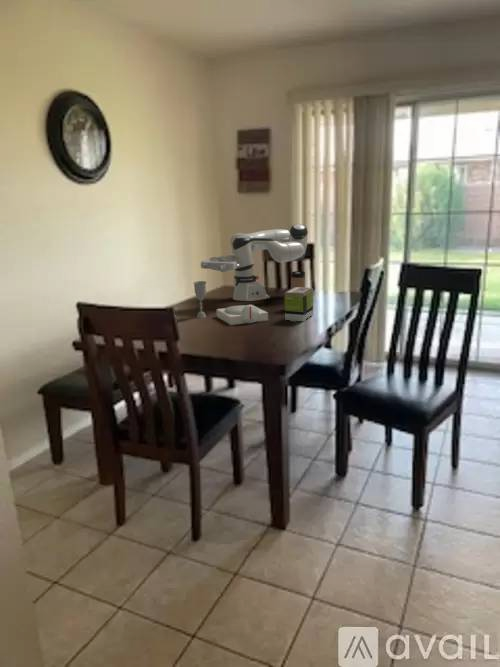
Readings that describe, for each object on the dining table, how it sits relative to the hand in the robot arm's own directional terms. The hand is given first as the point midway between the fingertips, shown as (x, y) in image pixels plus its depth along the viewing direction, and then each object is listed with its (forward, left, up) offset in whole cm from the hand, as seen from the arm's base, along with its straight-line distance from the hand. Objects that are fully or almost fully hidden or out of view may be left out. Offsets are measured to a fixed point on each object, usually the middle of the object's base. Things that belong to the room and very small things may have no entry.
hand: (211, 267), depth 263 cm
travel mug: (-44, +14, -25) cm, 52 cm away
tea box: (-34, +34, -25) cm, 54 cm away
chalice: (+9, +7, -25) cm, 27 cm away
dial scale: (-8, +21, -24) cm, 33 cm away
